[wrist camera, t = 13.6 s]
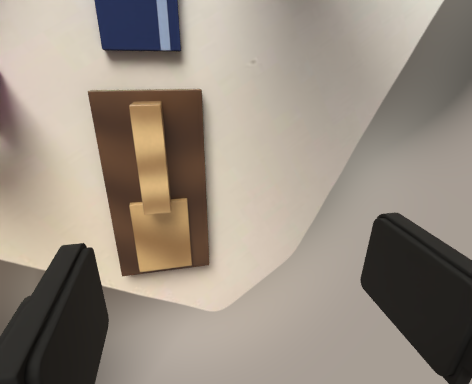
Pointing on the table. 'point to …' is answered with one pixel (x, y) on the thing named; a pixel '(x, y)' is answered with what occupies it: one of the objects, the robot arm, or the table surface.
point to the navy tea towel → (138, 25)
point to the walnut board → (178, 159)
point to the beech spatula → (156, 196)
